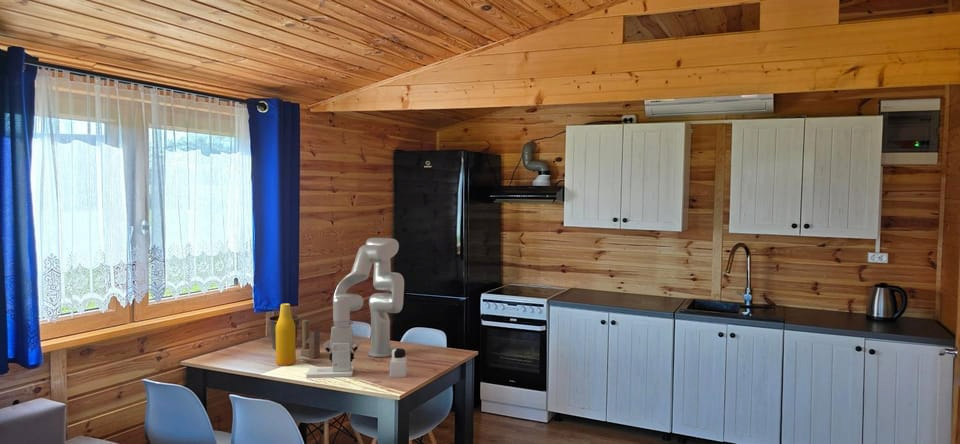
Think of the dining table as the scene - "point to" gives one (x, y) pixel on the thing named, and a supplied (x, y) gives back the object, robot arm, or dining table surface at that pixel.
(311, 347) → the wooden block
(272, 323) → the plant pot
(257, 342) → the dining table surface
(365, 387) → the dining table surface
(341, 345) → the small box
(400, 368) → the medicine bottle
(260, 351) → the dining table surface
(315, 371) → the board
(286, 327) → the beer bottle
